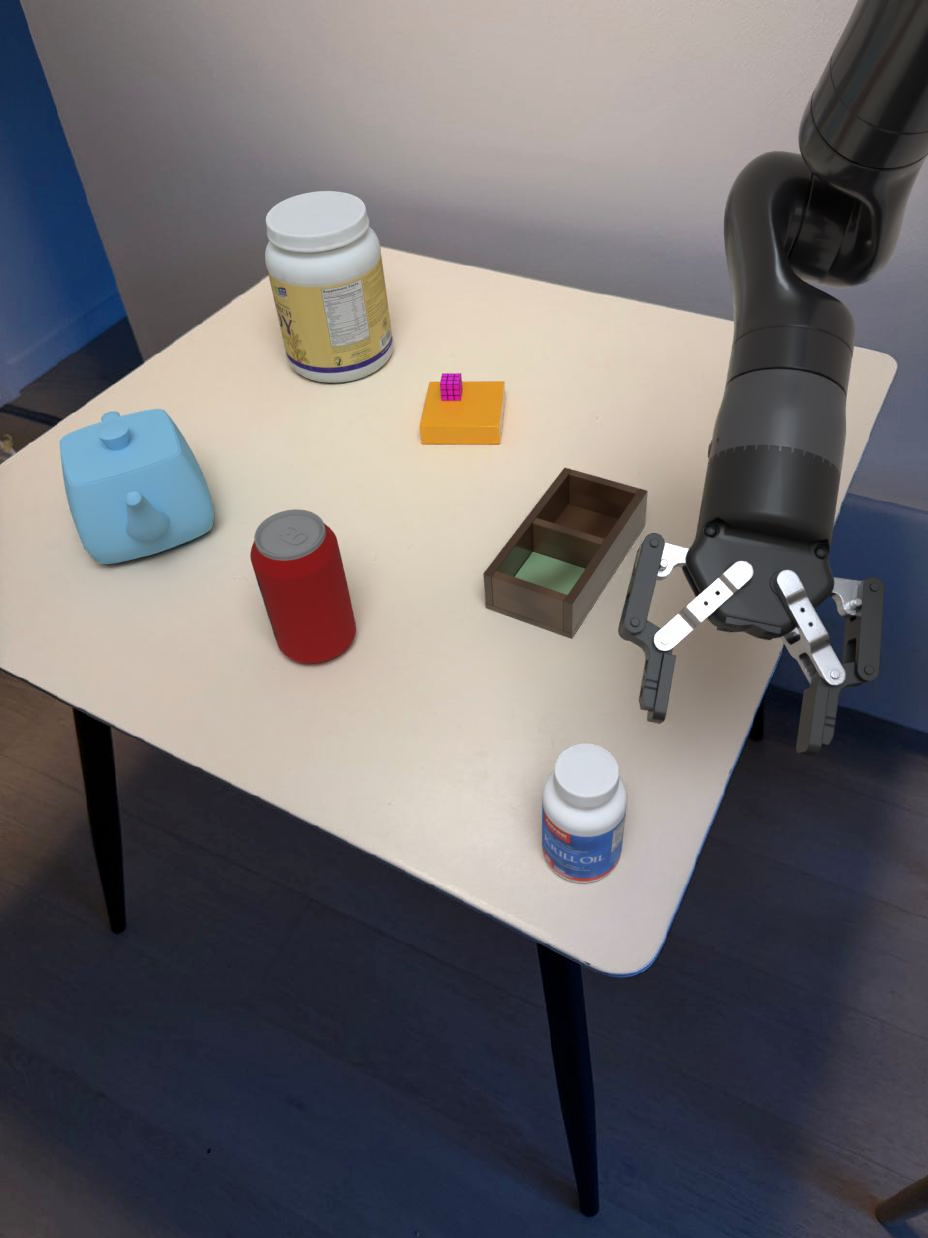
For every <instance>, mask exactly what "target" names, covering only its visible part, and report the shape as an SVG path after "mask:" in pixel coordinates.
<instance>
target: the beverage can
mask: <svg viewBox="0 0 928 1238" xmlns="http://www.w3.org/2000/svg"><path fill="white" fill-rule="evenodd" d="M253 538H254V540H253V543H252V545H251V548H250V554H249V557H250V562H251V566H252V569H253V573H254V575H255V580H256V582H257V586H258V589H259V593H260V595H261V598H262V602H263V605H264V608H265V612H266V615H267V618H268V621H269V624H270V627H271V630H272V633H273V636H274V639H275V642H276V645H277V647H278V649H279V651H280V652H281V653H282V654H283V655H284V656H285V657H286V658H288V659H290V660H292V661H295V662H297V663H302V664H303V663H304V664H317V663H322V662H326V661H330V660H331V659H332V660H333V659H334V658H337V656H339V655H341V654H342V653H343V652H344V651H346V650H347V649H348V648H349V647H350V645H352V643H353V641H354V639H355V636H356V632H357V625H356V624H357V623H356V619H355V615H354V614H355V613H354V609H353V603H352V600H351V594H350V590H349V586H348V581H347V577H346V572H345V568H344V563H343V559H342V555H341V551H340V546H339V541H338V539H337V536H336V533H335V532H334V531H333V529H332V528H331V527H330V526H328V525H327V524H326V523H324V521H323V519H322V518H321V516H319V515H318V514H317V513H314V512H313V511H310V510H306V509H297V508H295V509H286V510H282V511H279V512H276V513H274V514H272V515H270V516H268V517H267V518H265V519H264V520H263V521H262V522H261V523H260V524H259V525H258V527H256V529H255V532H254V537H253Z"/></svg>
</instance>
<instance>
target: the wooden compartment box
mask: <svg viewBox="0 0 928 1238" xmlns="http://www.w3.org/2000/svg"><path fill="white" fill-rule="evenodd" d="M648 492H649V491H648V490H647V489H643V488H639V487H636V486H631V485H628V484H624V483H622V482H617V481H614V480H611V479H607V478H604V477H600V476H598V475H597V476H596V475H594V474H589V473H587V472H583V471H579V470H575V469H572V468H569V467H563V468H562V470H561V471H560V473H559V474H558V475H557V477H555V478H554V481H553V482H552V483H551V484H550V486H549V487H548V488H547V489H546V491H545V492H544V493H543V495H542V496H541V497H540V499H539V500H538V501H537V503H536V504H535V505H534V506H533V508H532V509H531V510H530V512H529V513H528V514H527V516H526V517H525V519H524V520H523V521H522V522H521V524H519V526H518V527H517V529H516V530H515V531H514V533H513V534H512V535H511V537H510V538H509V539H508V540H507V542H506V543H505V544H504V546H503V547H502V548H501V549H500V551H499V552H498V554H497V555H496V556H495V558H493V559H492V562H491V563H490V564H489V565H488V566H487V568H486V569H485V571H484V572H483V573H482V575H483V591H484V600H485V602H484V603H485V604H484V605H485V608H486V609H487V610H489V611H493V612H496V613H499V614H501V615H504V616H508V617H510V618H513V619H515V620H519V621H521V622H523V623H527V624H529V625H532V626H535V627H538V628H541V629H544V630H546V631H550V632H551V633H552V632H553V633H554V634H558V635H561V636H563V637H566V638H569V639H573V638H574V637H575V635H576V633H577V632H578V630H579V629H580V628H581V625H583V623H584V621H585V619H586V618H587V616H588V615H589V613H590V611H591V610H592V608H593V607H594V606H595V604H596V602H597V601H598V599H599V597H600V596H601V595H602V593H603V592H604V590H605V589H606V587H607V585H608V584H609V583H610V581H611V579H612V578H613V576H614V575H615V573H616V571H617V570H618V569H619V567H620V565H621V564H622V562H623V560H624V559H625V557H626V556H627V554H628V553H629V551H630V550H631V548H632V547H633V545H634V544H635V542H636V540H638V537H639V536H640V534H641V533H642V532H643V529H644V528H645V526H646V518H647V505H648V494H649V493H648Z"/></svg>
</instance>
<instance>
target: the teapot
mask: <svg viewBox="0 0 928 1238" xmlns="http://www.w3.org/2000/svg"><path fill="white" fill-rule="evenodd" d="M100 420H101V421H99V422H96V423H93V424H90V425H87V426H84V427H82V428H78V429H76V430H73V431H71V432H69V433H67V434H65V435H63V436H62V437H61V438H60V440H59V453H60V462H61V469H62V470H61V471H62V478H63V485H64V490H65V495H66V500H67V504H68V507H69V511H70V514H71V517H72V518H71V519H72V520H73V523H74V526H75V529H76V531H77V535H79V536H78V537H79V539H80V541H81V544H82V547H83V548H84V550H85V551H86V552H87V554H88V555H89V556H90V557H91V558H92V559H93V560H95V561H96V562H97V563H99V564H101V565H111V564H118V563H123V562H130V561H132V560H136V559H140V558H145V557H147V556H148V557H149V556H151V555H155V554H159V553H162V552H165V551H167V550H170V549H173V548H175V547H178V546H180V545H182V544H186V543H189V542H191V541H193V540H194V539H195V540H196V539H197V538H199V537H202V536H203V535H205V534H206V533H209V531H211V530H212V528H213V525H214V517H215V509H214V508H215V507H214V503H213V499H212V495H211V492H210V489H209V486H208V483H207V480H206V477H205V475H204V473H203V471H202V469H201V466H200V464H199V462H198V460H197V458H196V456H195V454H194V453H193V450H192V449H191V447H190V445H189V443H188V441H187V440H186V438H185V436H184V435H183V433H182V432H181V430H180V428H179V427H178V425H177V424H176V423H175V422H174V420H173V418H171V416H170V415H169V414H168V413H167V411H166V410H165V409H163V408H162V409H161V408H152V409H151V408H150V409H146V410H141V411H135V412H132V413H128V414H124V415H121V414H120V412H118V411H108V412H106V413H104V414H103V415H102V416H101V417H100Z"/></svg>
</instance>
